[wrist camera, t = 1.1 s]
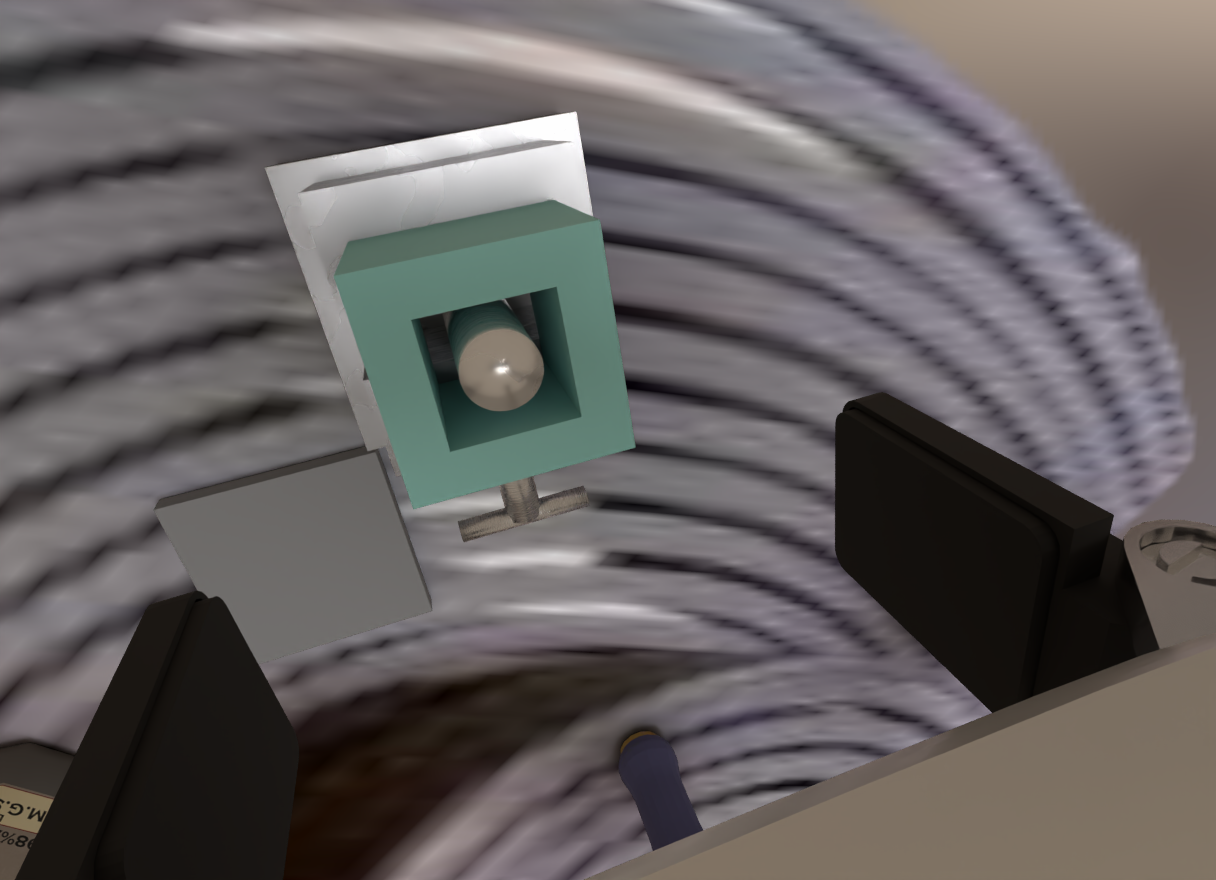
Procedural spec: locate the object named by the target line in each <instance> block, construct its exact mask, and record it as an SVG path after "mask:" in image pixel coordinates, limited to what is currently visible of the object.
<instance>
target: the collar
mask: <svg viewBox="0 0 1216 880" xmlns="http://www.w3.org/2000/svg"><path fill="white" fill-rule="evenodd" d="M334 279H335V282H336V285H337V288H338V290H339V293H340V296H341V299H342V302H343V305H344V308H345V311H346V314H347V317H348V320H349V323H350V325H351V328H352V331H353V334H354V337H355V340H356V343H357V346H358V349H359V352H360V355H361V358H362V361H363V363H364V366H365V369H366V372H367V375H368V378H369V381H370V384H371V387H372V390H373V393H374V396H375V398H376V401H377V404H378V407H379V410H380V413H381V416H382V419H383V422H384V425H385V428H386V431H387V433H388V436H389V439H390V442H391V445H392V448H393V451H394V454H395V457H396V460H397V463H398V466H399V469H400V471H401V474H402V477H403V480H404V483H405V486H406V489H407V492H408V495H409V498H410V501H411V504H412V506H413V509H416V508H420V507H424V506H427V505H431V504H434V503H438V502H442V501H445V500H449V499H452V498H456V497H459V496H463V495H467V494H470V493H474V492H477V491H481V490H485V489H488V488H492V487H495V486H499V485H502V484H506V483H510V482H513V481H517V480H520V479H524V478H528V477H531V476H535V475H538V474H542V473H546V472H549V471H553V470H556V469H560V468H563V467H567V466H571V465H574V464H578V463H581V462H585V461H589V460H592V459H596V458H599V457H603V456H606V455H610V454H614V453H617V452H621V451H624V450H628V449H632V448H635V441H634V434H633V428H632V422H631V415H630V409H629V402H628V396H627V390H626V383H625V377H624V371H623V364H622V358H621V351H620V345H619V339H618V332H617V326H616V320H615V313H614V307H613V300H612V294H611V288H610V281H609V275H608V268H607V262H606V256H605V249H604V243H603V237H602V230H601V224H600V220H599V219H597V218H595V217H592V216H590V215H588V214H586V213H583V212H581V211H579V210H576V209H574V208H572V207H569V206H567V205H565V204H562V203H560V202H558V201H556V200H550V201H545V202H540V203H535V204H531V205H526V206H521V207H516V208H511V209H506V210H501V211H496V212H491V213H486V214H481V215H477V216H472V217H467V218H462V219H457V220H452V221H447V222H442V223H437V224H432V225H427V226H423V227H418V228H413V229H408V230H403V231H398V232H393V233H388V234H383V235H378V236H373V237H369V238H364V239H359V240H354V241H349V242H348V243H347V245H346V248H345V250H344V252H343V255H342V257H341V260H340V262H339V264H338V267H337V269H336V272H335V274H334ZM527 293H530V297H531V302H532V307H533V311H534V316H535V321H536V325H537V330H538V335H539V340H540V344H541V349H542V354H543V359H542V360H543V365H544V374H543V380H542V383H541V385H540V388H539V389H538V391H537V392H536V394H535V395H534V396H533V397H532V398H531V399H530V400H529V401H528V402H527V403H525V404H524V405H522V406H520V407H518V408H516V409H512V410H508V411H492V410H488V409H485V408H482V407H480V406H479V405H477V404H475V403H474V402H473V401H472V400H471V399H470V398H469V397H468V396H467V395H466V393H465V392H464V390H463V388H462V386H461V383H460V380H459V379H458V380H454V381H450V382H446V383H442V384H438V381H437V377H436V374H435V370H434V367H433V363H432V360H431V357H430V353H429V350H428V346H427V343H426V340H425V336H424V333H423V329H422V326H421V323H420V319H419V318H422V317H426V316H431V315H435V314H439V313H444V312H448V311H452V310H457V309H461V308H466V307H470V306H474V305H479V304H483V303H488V302H492V301H496V300H501V299H505V298H509V297H514V296H518V295H523V294H527Z"/></svg>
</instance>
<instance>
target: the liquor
mask: <svg viewBox="0 0 1216 880" xmlns="http://www.w3.org/2000/svg"><path fill="white" fill-rule="evenodd" d="M74 757H75V756H72V755H69V754H65V753H62V752H59V751H56V750H52V749H49V748H46V747H43V746H39V745H36V744H33V743H25V744H20V745H15V746H11V747H6V748H1V749H0V880H15V878H16V876H17V874H18V872H19V870H20V868H21V866H22V864H23V862H24V860H25V857H26V855H27V853H28V851H29V849H30V847H31V845H32V843H33V841H34V839H35V837H36V835H37V833H38V831H39V829H40V827H41V825H42V822H43V820H44V818H45V816H46V814H47V812H48V810H49V808H50V806H51V804H52V802H53V800H54V798H55V796H56V794H57V792H58V790H59V788H60V785H61V783H62V781H63V779H64V777H65V775H66V773H67V771H68V769H69V767H70V765H71V763H72V761H73V759H74Z"/></svg>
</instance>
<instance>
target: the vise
mask: <svg viewBox="0 0 1216 880" xmlns="http://www.w3.org/2000/svg"><path fill="white" fill-rule="evenodd" d="M265 170H266V172H267V175H268V178H269V181H270V183H271V186H272V189H273V192H274V194H275V197H276V200H277V203H278V205H279V208H280V211H281V214H282V217H283V219H284V222H285V225H286V228H287V230H288V233H289V236H290V239H291V241H292V244H293V247H294V250H295V252H296V255H297V258H298V261H299V263H300V266H301V269H302V272H303V274H304V277H305V280H306V283H307V285H308V288H309V291H310V294H311V297H312V299H313V302H314V305H315V308H316V310H317V313H318V316H319V319H320V321H321V324H322V327H323V330H324V332H325V335H326V338H327V341H328V343H329V346H330V349H331V352H332V354H333V357H334V360H335V363H336V365H337V368H338V371H339V374H340V377H341V379H342V382H343V385H344V388H345V390H346V393H347V396H348V399H349V401H350V404H351V407H352V410H353V412H354V415H355V418H356V421H357V423H358V426H359V429H360V432H361V434H362V437H363V440H364V443H365V445H366V448H367V451H371V450H374V449H378V448H382V447H386V449H387V452H388V455H389V458H390V461H391V463H392V466H393V469H394V472H395V475H396V477H397V476H401V475H402V474H401V471H400V469H399V466H398V463H397V460H396V457H395V454H394V451H393V448H392V445H391V442H390V439H389V436H388V433H387V431H386V428H385V425H384V422H383V419H382V416H381V413H380V410H379V407H378V404H377V401H376V398H375V396H374V393H373V390H372V387H371V384H370V381H369V378H368V375H367V372H366V369H365V366H364V363H363V361H362V358H361V355H360V352H359V349H358V346H357V343H356V340H355V337H354V334H353V331H352V328H351V325H350V323H349V320H348V317H347V314H346V311H345V308H344V305H343V302H342V299H341V296H340V293H339V290H338V288H337V285H336V282H335V279H334V274H335V272H336V269H337V267H338V264H339V262H340V260H341V257H342V255H343V252H344V250H345V248H346V245H347V243H348V242H349V241H354V240H359V239H364V238H369V237H373V236H378V235H383V234H388V233H393V232H398V231H403V230H408V229H413V228H418V227H423V226H427V225H432V224H437V223H442V222H447V221H452V220H457V219H462V218H467V217H472V216H477V215H481V214H486V213H491V212H496V211H501V210H506V209H511V208H516V207H521V206H526V205H531V204H535V203H540V202H545V201H550V200H556V201H558V202H560V203H562V204H565V205H567V206H569V207H572V208H574V209H576V210H579V211H581V212H583V213H586V214H588V215H590V216H592V217H593V213H592V207H591V200H590V194H589V188H588V182H587V176H586V169H585V163H584V157H583V151H582V144H581V138H580V132H579V126H578V120H577V113H576V112H568V113H559V114H553V115H548V116H542V117H537V118H531V119H526V120H520V121H515V122H509V123H503V124H498V125H492V126H487V127H481V128H476V129H470V130H465V131H459V132H453V133H448V134H442V135H437V136H431V137H426V138H420V139H415V140H409V141H403V142H398V143H392V144H387V145H381V146H376V147H370V148H365V149H359V150H353V151H348V152H342V153H337V154H331V155H326V156H320V157H315V158H309V159H303V160H298V161H292V162H287V163H281V164H276V165H273V166H269V167H266V168H265ZM419 319H420V323H421V326H422V329H423V333H424V336H425V340H426V343H427V346H428V350H429V353H430V357H431V360H432V363H433V367H434V370H435V374H436V377H437V381H438V384H442V383H446V382H450V381H454V380H458V379H459V380H460V383H461V386H462V388H463V390H464V392H465V393H466V395H467V396H468V397H469V398H470V399H471V400H472V401H473V402H474V403H475V404H477V405H479V406H480V407H482V408H485V409H488V410H492V411H508V410H512V409H516V408H518V407H520V406H522V405H524V404H525V403H527V402H528V401H529V400H530V399H531V398H532V397H533V396H534V395H535V394H536V392H537V391H538V389H539V388H540V385H541V383H542V380H543V374H544V365H543V360H542V359H543V354H542V349H541V344H540V340H539V335H538V330H537V325H536V321H535V316H534V311H533V307H532V302H531V297H530V293H527V294H523V295H518V296H514V297H509V298H505V299H501V300H496V301H492V302H488V303H483V304H479V305H474V306H470V307H466V308H461V309H457V310H452V311H448V312H444V313H439V314H435V315H431V316H426V317H422V318H419ZM499 487H500V491H501V495H502V498H503V502H504V506H505V508H503V509H500V510H496V511H493V512H489V513H486V514H482V515H479V516H475V517H472V518H468V519H465V520H461V521H458V524H459V528H460V532H461V536H462V539H463V542H467V541H470V540H474V539H477V538H481V537H484V536H488V535H491V534H494V533H498V532H501V531H505V530H508V529H512V528H515V527H518V526H522V525H525V524H529V523H532V522H536V521H539V520H542V519H546V518H549V517H553V516H556V515H560V514H563V513H566V512H570V511H573V510H577V509H580V508H584V507H587V506H589V501H588V497H587V493H586V490H585V488H584V486H580V487H577V488H573V489H570V490H566V491H563V492H559V493H556V494H552V495H549V496H545V497H542V498H538V494H537V489H536V485H535V481H534V477H533V476H531V477H528V478H524V479H520V480H517V481H513V482H510V483H506V484H502V485H499Z"/></svg>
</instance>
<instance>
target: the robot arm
mask: <svg viewBox="0 0 1216 880" xmlns="http://www.w3.org/2000/svg"><path fill="white" fill-rule="evenodd" d="M1113 517H1114V515H1113V514H1111V513H1109V512H1107V511H1105V510H1103V509H1102V508H1100V507H1098V506H1096V505H1094V504H1092V503H1090V502H1088V501H1087V500H1085V499H1083V498H1081V497H1079V496H1077V495H1075V494H1074V493H1072V492H1070V491H1068V490H1066V489H1064V488H1062V487H1060V486H1059V485H1057V484H1055V483H1053V482H1051V481H1049V480H1047V479H1045V478H1044V477H1042V476H1040V475H1038V474H1036V473H1034V472H1032V471H1031V470H1029V469H1027V468H1025V467H1023V466H1021V465H1019V464H1017V463H1016V462H1014V461H1012V460H1010V459H1008V458H1006V457H1004V456H1003V455H1001V454H999V453H997V452H995V451H993V450H991V449H989V448H988V447H986V446H984V445H982V444H980V443H978V442H976V441H975V440H973V439H971V438H969V437H967V436H965V435H963V434H961V433H960V432H958V431H956V430H954V429H952V428H950V427H948V426H946V425H945V424H943V423H941V422H939V421H937V420H935V419H933V418H932V417H930V416H928V415H926V414H924V413H922V412H920V411H918V410H917V409H915V408H913V407H911V406H909V405H907V404H905V403H904V402H902V401H900V400H898V399H896V398H894V397H892V396H890V395H889V394H886V393H883V392H881V393H876V394H873V395H869V396H866V397H862V398H859V399H856V400H852V401H849V402H848V403H846V404H845V406H844V409H843V413H840V414H839V415H838V416H837V418H836V424H835V551H836V555H837V558H838V560H839V563H840V564H841V566H842V567H843V569H844V570H845V571H846V572H847V573H848V574H849V575H850V576H851V577H852V578H853V579H854V580H855V581H856V582H857V583H859V584H860V585H861V586H862V587H863V588H864V589H865V590H866V591H867V592H868V593H869V594H870V595H871V596H872V597H873V598H874V599H875V600H876V601H877V602H878V603H879V604H880V605H881V606H882V607H883V608H884V609H885V610H886V611H887V612H889V613H890V614H891V615H892V616H893V617H894V618H895V619H896V620H897V621H898V622H899V623H900V624H901V625H902V626H903V627H904V628H905V629H906V630H907V631H908V632H909V633H910V634H911V635H912V636H913V637H914V638H915V639H916V640H918V641H919V642H920V643H921V644H922V645H923V646H924V647H925V648H926V649H927V650H928V651H929V652H930V653H931V654H932V655H933V656H934V657H935V658H936V659H937V660H938V661H939V662H940V663H941V664H942V665H943V666H944V667H945V668H946V669H948V670H949V671H950V672H951V673H952V674H953V675H954V676H955V677H956V678H957V679H958V680H959V681H960V682H961V683H962V684H963V685H964V686H965V687H966V688H967V689H968V690H969V691H970V692H971V693H972V694H973V695H974V696H975V697H977V698H978V699H979V700H980V701H981V702H982V703H983V704H984V705H985V706H986V707H987V708H988V709H989V710H990V711H991V712H992V713H991V714H989V715H986V716H984V717H981V718H979V719H976V720H974V721H972V722H969V723H967V724H964V725H962V726H959V727H957V728H954V729H952V730H949V731H947V732H944V733H942V734H939V735H937V736H934V737H932V738H929V739H927V740H924V741H922V742H919V743H917V744H914V745H912V746H909V747H907V748H904V749H902V750H899V751H897V752H895V753H892V754H890V755H887V756H885V757H882V758H880V759H877V760H875V761H872V762H870V763H867V764H865V765H862V766H860V767H857V768H855V769H852V770H850V771H848V772H845V773H843V774H840V775H838V776H835V777H833V778H830V779H828V780H825V781H823V782H821V783H818V784H816V785H813V786H811V787H808V788H806V789H803V790H801V791H799V792H796V793H794V794H791V795H789V796H786V797H784V798H781V799H779V800H777V801H774V802H772V803H769V804H767V805H764V806H762V807H759V808H757V809H754V810H752V811H750V812H747V813H745V814H742V815H740V816H737V817H735V818H732V819H730V820H728V821H725V822H723V823H720V824H718V825H715V826H713V827H711V828H708V829H706V830H703V831H701V832H698V833H696V834H694V835H691V836H689V837H686V838H684V839H681V840H679V841H676V842H674V843H672V844H669V845H667V846H664V847H662V848H659V849H657V850H655V851H652V852H650V853H647V854H645V855H642V856H640V857H637V858H635V859H633V860H630V861H628V862H625V863H623V864H620V865H618V866H616V867H613V868H611V869H608V870H606V871H604V872H601V873H599V874H596V875H594V876H591V877H589V878H587V879H584V880H1216V526H1212V525H1209V524H1205V523H1198V522H1191V521H1185V520H1156V521H1150V522H1144V523H1141V524H1139V525H1137V526H1135V527H1133V528H1131V529H1130V530H1129V531H1128V532H1127V534H1126V535H1125V536H1124V539H1123V541H1122V540H1120V539H1119V538H1117V537H1115V536H1113V535H1112V534H1110V530H1111V526H1112V521H1113ZM298 760H299V747H298V741H297V737H296V734H295V732H294V729H293V727H292V725H291V724H290V722H289V720H288V718H287V716H286V714H285V713H284V711H283V709H282V707H281V705H280V703H279V701H278V700H277V698H276V696H275V694H274V692H273V690H272V689H271V687H270V685H269V683H268V681H267V679H266V677H265V676H264V674H263V672H262V670H261V668H260V666H259V664H258V663H257V661H256V659H255V657H254V655H253V653H252V652H251V650H250V648H249V646H248V644H247V642H246V640H245V639H244V637H243V635H242V633H241V631H240V629H239V628H238V626H237V624H236V622H235V620H234V618H233V616H232V615H231V613H230V611H229V609H228V607H227V605H226V604H225V602H224V601H223V600H222V599H221V598H220V597H218V596H215V597H212V598H208V597H207V596H206V595H205V594H204V593H203V592H201V591H194V592H191V593H187V594H184V595H180V596H177V597H173V598H170V599H166V600H163V601H160V602H156V603H153V604H151V605H149V606H148V608H147V609H146V611H145V613H144V615H143V617H142V619H141V621H140V623H139V625H138V627H137V629H136V631H135V633H134V635H133V637H132V639H131V641H130V643H129V646H128V648H127V650H126V652H125V654H124V656H123V658H122V660H121V662H120V664H119V666H118V668H117V670H116V672H115V674H114V676H113V678H112V680H111V683H110V685H109V687H108V689H107V691H106V693H105V695H104V697H103V699H102V701H101V703H100V705H99V707H98V709H97V711H96V713H95V715H94V718H93V720H92V722H91V724H90V726H89V728H88V730H87V732H86V734H85V736H84V738H83V740H82V742H81V744H80V746H79V748H78V750H77V753H76V755H75V757H74V759H73V761H72V763H71V765H70V767H69V769H68V771H67V773H66V775H65V777H64V779H63V781H62V783H61V785H60V788H59V790H58V792H57V794H56V796H55V798H54V800H53V802H52V804H51V806H50V808H49V810H48V812H47V814H46V816H45V818H44V820H43V822H42V825H41V827H40V829H39V831H38V833H37V835H36V837H35V839H34V841H33V843H32V845H31V847H30V849H29V851H28V853H27V855H26V857H25V860H24V862H23V864H22V866H21V868H20V870H19V872H18V874H17V876H16V878H15V880H283V874H284V866H285V859H286V851H287V844H288V836H289V828H290V821H291V813H292V806H293V798H294V790H295V783H296V775H297V768H298Z"/></svg>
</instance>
